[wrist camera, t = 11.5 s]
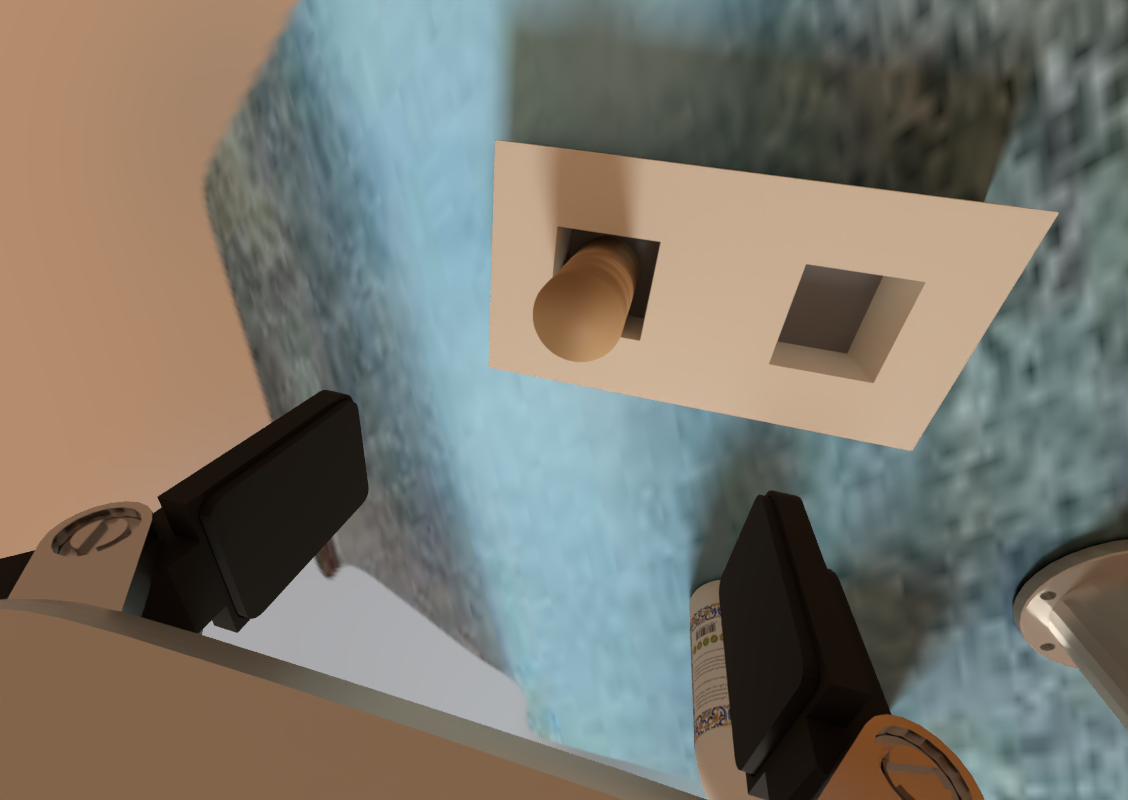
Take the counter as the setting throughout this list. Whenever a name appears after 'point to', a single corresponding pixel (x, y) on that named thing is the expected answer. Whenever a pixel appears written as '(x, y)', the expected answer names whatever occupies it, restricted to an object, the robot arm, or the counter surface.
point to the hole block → (759, 286)
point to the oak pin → (588, 300)
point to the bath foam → (712, 700)
